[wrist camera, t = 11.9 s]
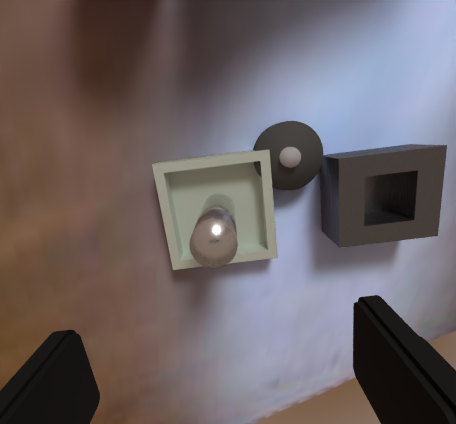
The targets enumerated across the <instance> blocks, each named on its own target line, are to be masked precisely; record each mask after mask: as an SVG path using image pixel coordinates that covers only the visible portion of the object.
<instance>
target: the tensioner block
mask: <svg viewBox="0 0 456 424" xmlns="http://www.w3.org/2000/svg"><path fill="white" fill-rule="evenodd" d="M446 149H447V145H415V144H409V145H401V146H393V147H385V148H377V149H369V150H361V151H353V152H345V153H337V154H329V155H323V160H322V164H321V167H320V179H321V217H322V232H324V233H325V234H326V235H327V236H328V237H329V238H330V239H331V240H332V241H333V242H334V243H335V244H336V245H337V246H338V247H347V246H356V245H364V244H373V243H381V242H390V241H398V240H406V239H415V238H423V237H432V236H438V228H439V218H440V208H441V198H442V188H443V179H444V169H445V159H446Z"/></svg>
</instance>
